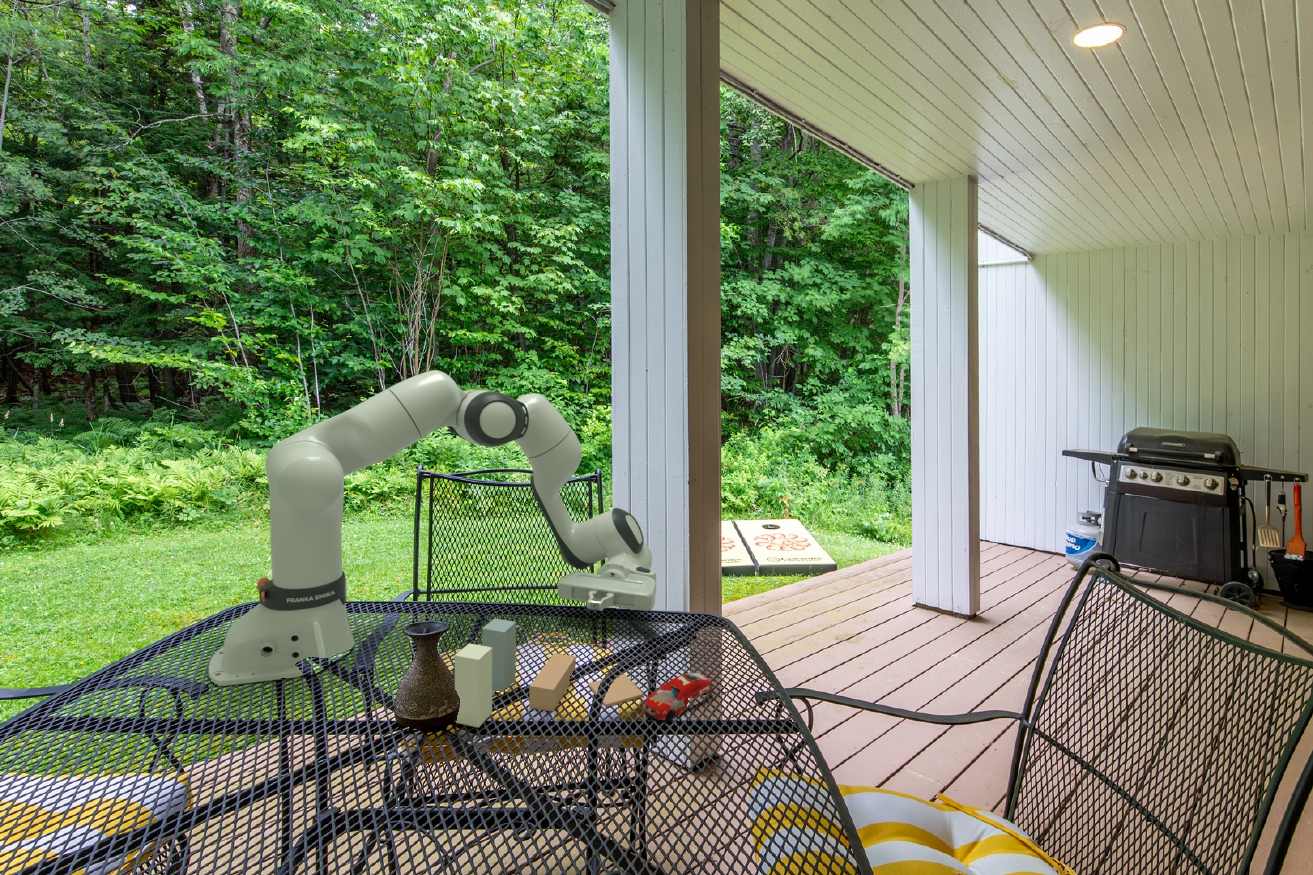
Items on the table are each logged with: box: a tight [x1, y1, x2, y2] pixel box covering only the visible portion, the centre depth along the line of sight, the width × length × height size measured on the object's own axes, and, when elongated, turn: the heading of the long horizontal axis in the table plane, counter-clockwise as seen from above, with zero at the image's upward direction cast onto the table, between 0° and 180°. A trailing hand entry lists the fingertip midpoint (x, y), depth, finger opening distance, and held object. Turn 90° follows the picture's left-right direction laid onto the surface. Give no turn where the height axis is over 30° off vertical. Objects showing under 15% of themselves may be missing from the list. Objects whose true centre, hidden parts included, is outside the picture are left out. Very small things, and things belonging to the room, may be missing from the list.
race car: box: [644, 672, 713, 722], centre depth 104 cm, size 13×5×4 cm, turn 131°
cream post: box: [454, 643, 493, 729], centre depth 97 cm, size 4×4×11 cm
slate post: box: [481, 617, 517, 691], centre depth 106 cm, size 4×4×11 cm
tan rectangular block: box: [528, 652, 577, 712], centre depth 106 cm, size 4×4×11 cm
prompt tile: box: [587, 673, 645, 708], centre depth 107 cm, size 7×7×1 cm
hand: (594, 606), depth 123 cm, fingers closed
